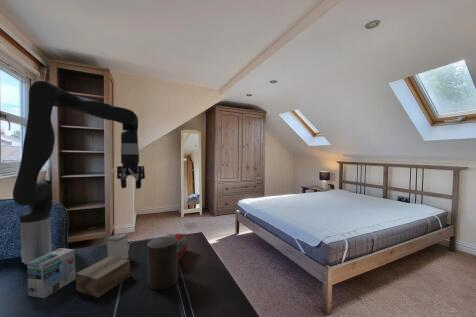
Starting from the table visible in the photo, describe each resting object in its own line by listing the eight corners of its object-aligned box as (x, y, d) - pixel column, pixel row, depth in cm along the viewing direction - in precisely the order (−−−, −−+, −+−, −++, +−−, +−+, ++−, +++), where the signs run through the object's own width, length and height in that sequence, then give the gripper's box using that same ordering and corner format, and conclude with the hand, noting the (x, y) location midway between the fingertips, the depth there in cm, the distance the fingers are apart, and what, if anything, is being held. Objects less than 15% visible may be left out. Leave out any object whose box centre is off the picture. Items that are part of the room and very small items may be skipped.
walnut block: (76, 291, 68) (75, 273, 68) (110, 271, 79) (109, 256, 79) (98, 298, 64) (97, 279, 64) (130, 276, 76) (129, 260, 76)
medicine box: (169, 250, 96) (169, 232, 96) (187, 250, 95) (186, 233, 95) (152, 268, 81) (152, 247, 81) (172, 269, 80) (172, 248, 80)
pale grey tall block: (107, 262, 86) (106, 238, 86) (118, 256, 91) (117, 233, 91) (117, 264, 84) (116, 239, 84) (128, 257, 89) (127, 234, 89)
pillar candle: (166, 292, 66) (165, 245, 66) (141, 287, 69) (140, 242, 69) (183, 275, 75) (182, 234, 75) (160, 271, 78) (159, 231, 78)
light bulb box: (44, 299, 64) (42, 264, 64) (27, 296, 66) (25, 262, 66) (77, 278, 75) (75, 248, 75) (61, 276, 76) (60, 247, 76)
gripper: (111, 154, 96) (112, 189, 97) (135, 153, 92) (137, 190, 92) (124, 154, 104) (125, 186, 104) (148, 153, 99) (149, 187, 99)
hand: (131, 188), depth 98 cm, fingers open, 8 cm apart
